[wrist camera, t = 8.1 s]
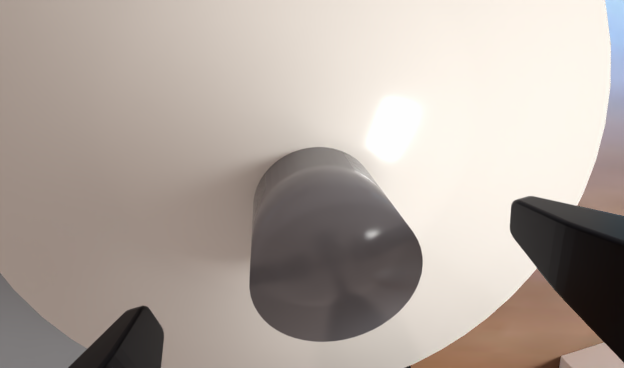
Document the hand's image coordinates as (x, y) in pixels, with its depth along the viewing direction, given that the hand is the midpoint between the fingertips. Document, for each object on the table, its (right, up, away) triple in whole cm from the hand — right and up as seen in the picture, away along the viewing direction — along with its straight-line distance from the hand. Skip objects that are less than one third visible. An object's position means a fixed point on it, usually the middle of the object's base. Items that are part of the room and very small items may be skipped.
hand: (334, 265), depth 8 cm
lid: (-1, +2, +3) cm, 4 cm away
